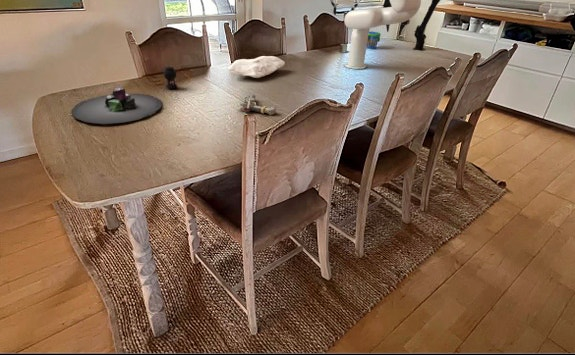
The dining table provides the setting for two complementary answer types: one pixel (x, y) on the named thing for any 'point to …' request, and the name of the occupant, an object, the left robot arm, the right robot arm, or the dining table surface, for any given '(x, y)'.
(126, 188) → the dining table surface
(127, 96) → the grey flat disc
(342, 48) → the canister
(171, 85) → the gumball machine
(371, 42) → the snack cup
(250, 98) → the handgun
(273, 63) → the crumpled cloth
